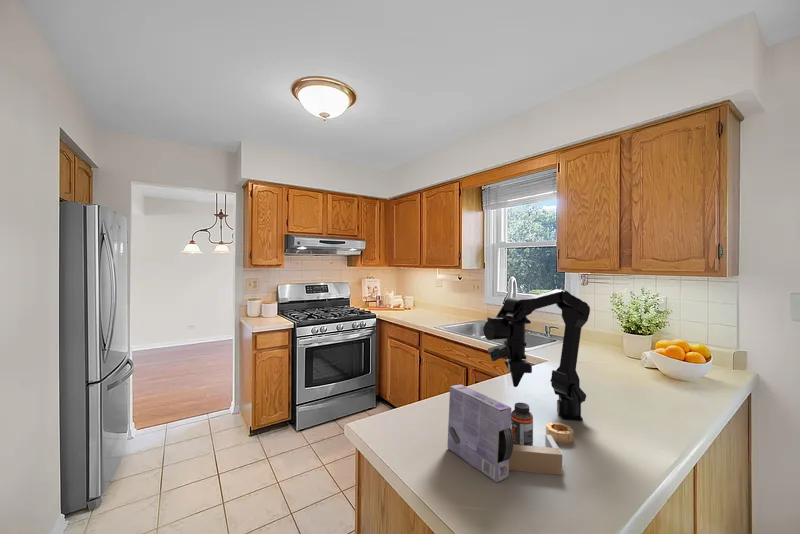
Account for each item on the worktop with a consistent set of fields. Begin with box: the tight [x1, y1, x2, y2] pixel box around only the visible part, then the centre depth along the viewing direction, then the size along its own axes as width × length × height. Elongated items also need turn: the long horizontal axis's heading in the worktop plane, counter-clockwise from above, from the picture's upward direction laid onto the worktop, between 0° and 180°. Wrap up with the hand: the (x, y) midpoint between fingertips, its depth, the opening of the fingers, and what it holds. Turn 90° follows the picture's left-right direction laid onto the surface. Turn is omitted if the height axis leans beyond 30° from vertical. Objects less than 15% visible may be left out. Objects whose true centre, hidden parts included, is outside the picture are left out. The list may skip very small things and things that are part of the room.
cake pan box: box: [446, 384, 514, 484], centre depth 88 cm, size 19×5×18 cm, turn 33°
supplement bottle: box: [511, 402, 534, 446], centre depth 97 cm, size 6×6×11 cm
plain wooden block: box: [509, 434, 563, 476], centre depth 90 cm, size 16×13×5 cm
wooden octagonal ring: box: [545, 421, 574, 445], centre depth 101 cm, size 7×7×3 cm
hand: (515, 386), depth 108 cm, fingers closed
